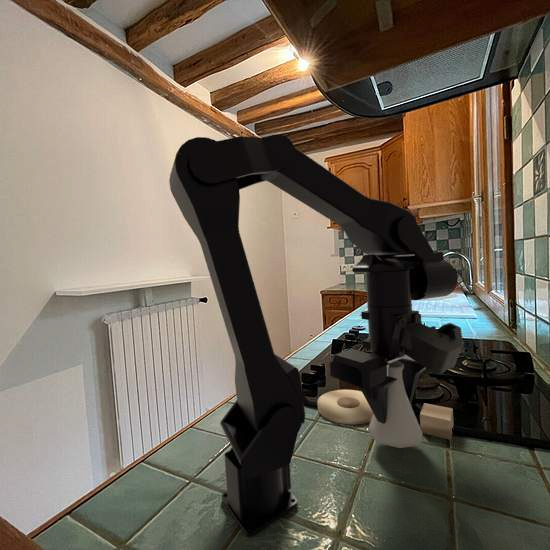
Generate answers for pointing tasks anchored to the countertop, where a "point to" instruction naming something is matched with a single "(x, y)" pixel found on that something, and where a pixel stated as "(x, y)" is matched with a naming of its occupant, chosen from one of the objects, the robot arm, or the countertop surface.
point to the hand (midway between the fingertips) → (393, 415)
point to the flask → (397, 415)
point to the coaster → (345, 407)
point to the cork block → (436, 421)
